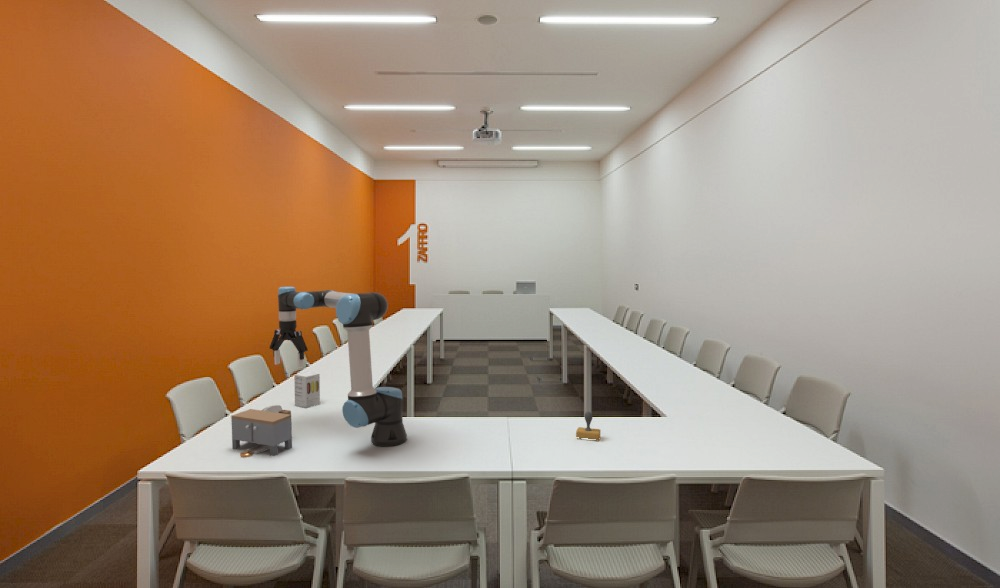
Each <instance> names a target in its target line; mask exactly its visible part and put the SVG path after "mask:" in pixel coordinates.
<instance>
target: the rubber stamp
mask: <svg viewBox="0 0 1000 588" xmlns="http://www.w3.org/2000/svg"><path fill="white" fill-rule="evenodd" d="M584 420H585V423H586V427H581V426H579V427H577V429H576V430H575V431H576V432H575V438H576V437H579V438H588V439H596V440H599V438H600V439H601V429H600V428H591V423H592V420H593V414H592V412H591V411H586V412H585V413H584ZM599 441H600V440H599Z"/></svg>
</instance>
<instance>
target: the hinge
mask: <svg viewBox="0 0 1000 588" xmlns="http://www.w3.org/2000/svg"><path fill="white" fill-rule="evenodd" d="M282 410H284V409H283V407H282V406H281V405H279V404H276V405H269V406H267V407H265V408H263V409H261V411H268V412H275V413H279V411H282Z"/></svg>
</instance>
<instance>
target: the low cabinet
mask: <svg viewBox="0 0 1000 588" xmlns="http://www.w3.org/2000/svg"><path fill="white" fill-rule="evenodd" d="M261 410H262V409H261ZM261 410H260V409H253V408H249V409H247V410H244V411H241V412H238V413H235V414H233V415H231V416H230V419H231V442H232V444H231V446H232V449H233V450H238V449H240V448H241V442H245V443H246V442H247V443H250V444H257V445H259V444H263V445H268V446H270V448H269V456H271V457H275V456H277V455H278V454H279V453H278V445H280V443H281V444H282V442H283V443H284V449H285V450H286V449H287V450H290V449H292V448H293V436H292V435H293V431H292V427H293V426H292V414H291V415H289V414H282V413H275V412H268V411H261Z"/></svg>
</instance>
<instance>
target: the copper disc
mask: <svg viewBox="0 0 1000 588" xmlns="http://www.w3.org/2000/svg"><path fill="white" fill-rule="evenodd" d="M239 455H240V456H241V457H240V458H249V457H252V456H253V452H252V451H242V452H240V454H239Z"/></svg>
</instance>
